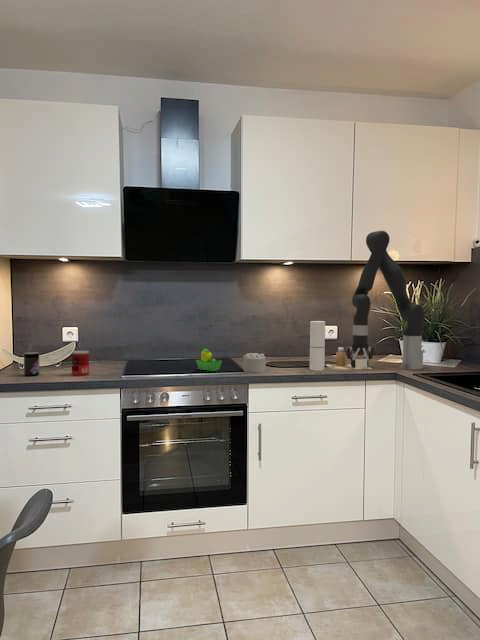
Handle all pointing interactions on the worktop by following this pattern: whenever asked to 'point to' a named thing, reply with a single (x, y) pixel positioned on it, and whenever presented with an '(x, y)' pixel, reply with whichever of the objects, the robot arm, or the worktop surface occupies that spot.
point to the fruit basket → (208, 362)
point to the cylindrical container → (317, 345)
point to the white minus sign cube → (360, 363)
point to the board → (347, 366)
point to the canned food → (80, 363)
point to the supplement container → (31, 364)
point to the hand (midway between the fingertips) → (359, 367)
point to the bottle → (340, 357)
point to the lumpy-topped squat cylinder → (254, 363)
